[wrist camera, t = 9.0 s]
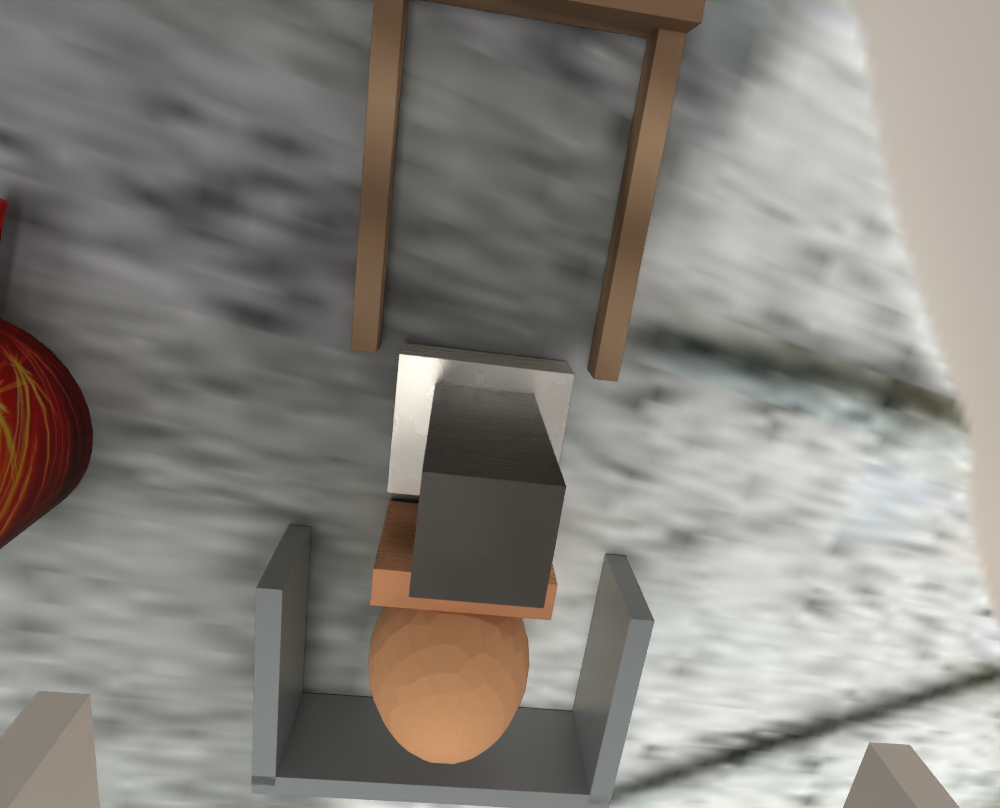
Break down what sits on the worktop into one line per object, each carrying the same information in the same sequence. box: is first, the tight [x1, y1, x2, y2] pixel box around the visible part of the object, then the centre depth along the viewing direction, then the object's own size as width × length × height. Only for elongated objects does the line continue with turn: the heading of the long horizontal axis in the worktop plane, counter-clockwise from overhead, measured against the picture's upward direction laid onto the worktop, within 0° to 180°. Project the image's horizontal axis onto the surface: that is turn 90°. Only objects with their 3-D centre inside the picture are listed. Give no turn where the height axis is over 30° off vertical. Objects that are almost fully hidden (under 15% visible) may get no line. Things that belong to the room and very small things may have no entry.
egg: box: [368, 606, 529, 764], centre depth 27 cm, size 7×7×9 cm
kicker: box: [370, 343, 575, 620], centre depth 24 cm, size 9×7×11 cm
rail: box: [351, 0, 706, 381], centre depth 24 cm, size 14×11×3 cm
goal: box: [252, 525, 654, 808], centre depth 30 cm, size 10×16×5 cm, turn 82°
